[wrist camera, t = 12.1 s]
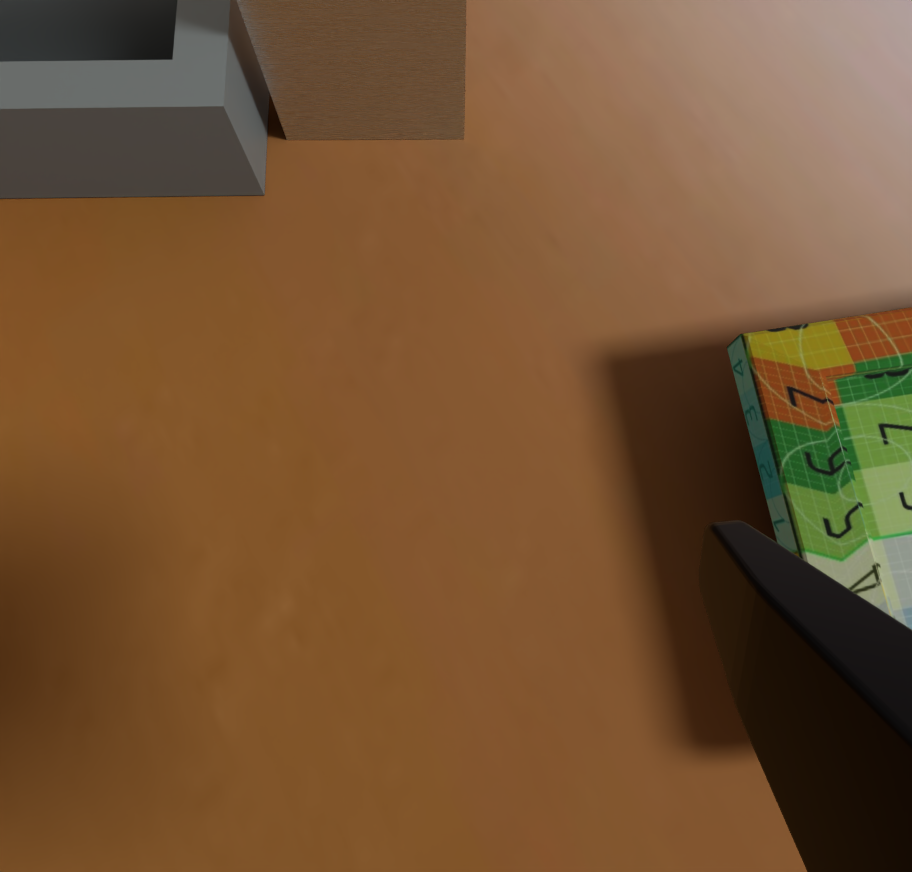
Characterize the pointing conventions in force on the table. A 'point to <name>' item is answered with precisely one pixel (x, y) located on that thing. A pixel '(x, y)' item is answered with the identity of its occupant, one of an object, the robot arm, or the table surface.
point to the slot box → (130, 100)
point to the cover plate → (362, 66)
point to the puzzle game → (837, 446)
